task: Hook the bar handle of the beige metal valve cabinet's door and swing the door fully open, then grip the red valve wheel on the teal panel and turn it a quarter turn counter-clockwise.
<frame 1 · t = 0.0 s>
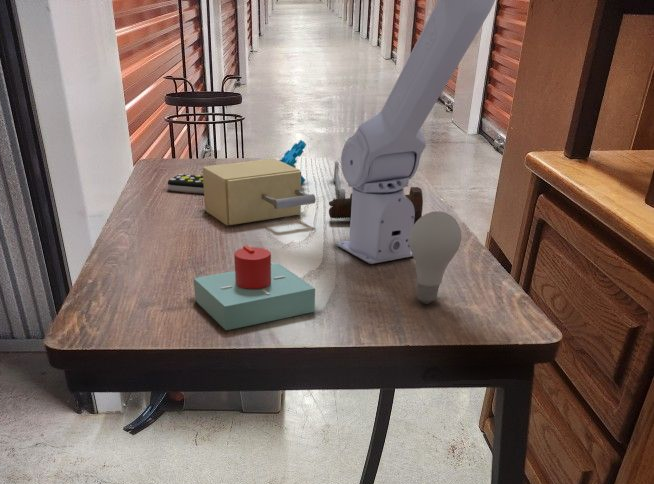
lightbulb: (425, 304, 84), on the table
cabinet: (251, 212, 115), on the table
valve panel: (253, 306, 83), on the table
cabinet door: (273, 202, 107), point 4 cm above the table, hinge at 0.0°
valve: (252, 266, 80), point 5 cm above the table, hinge at 0.0°
blue jagged angular piece: (286, 185, 130), on the table
remote control: (202, 191, 127), on the table
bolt: (373, 222, 111), on the table
combination wrench: (338, 194, 125), on the table
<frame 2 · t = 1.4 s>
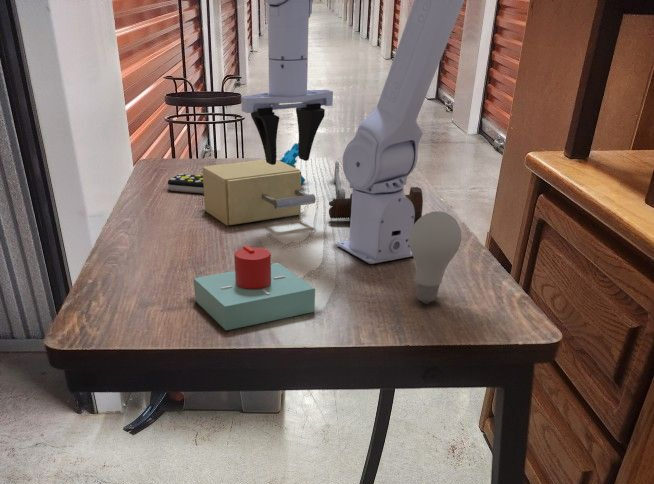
hand: (287, 161, 104), 9 cm above the table, tool pointing down, fingers open, 5 cm apart
nothing on the table moved.
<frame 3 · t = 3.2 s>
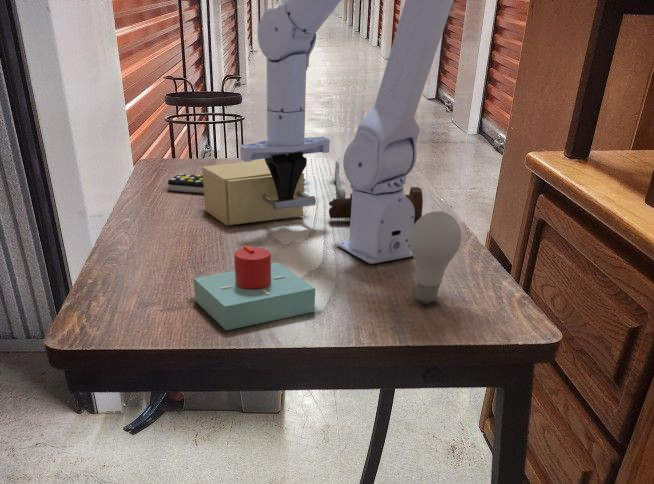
hand: (285, 205, 107), 3 cm above the table, tool pointing down, fingers closed, pressing on cabinet door
cabinet door: (273, 203, 107), point 4 cm above the table, hinge at 4.4°, touching gripper
everything else where it was.
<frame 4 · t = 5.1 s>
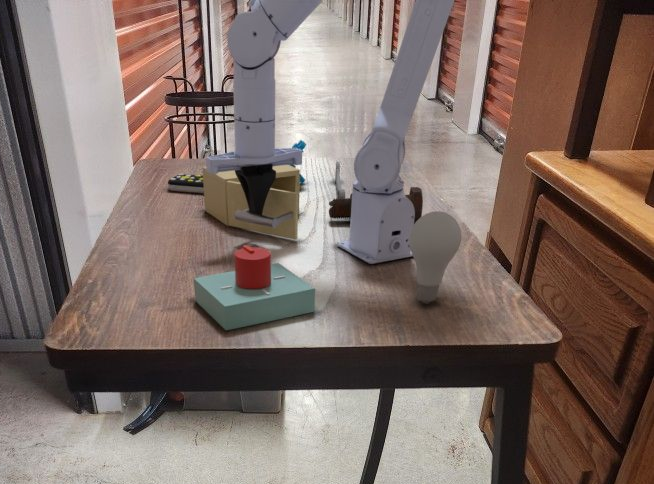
hand: (255, 219, 101), 3 cm above the table, tool pointing down, fingers closed, pressing on cabinet door
cabinet door: (251, 214, 102), point 4 cm above the table, hinge at 61.0°, touching gripper
everything else where it was.
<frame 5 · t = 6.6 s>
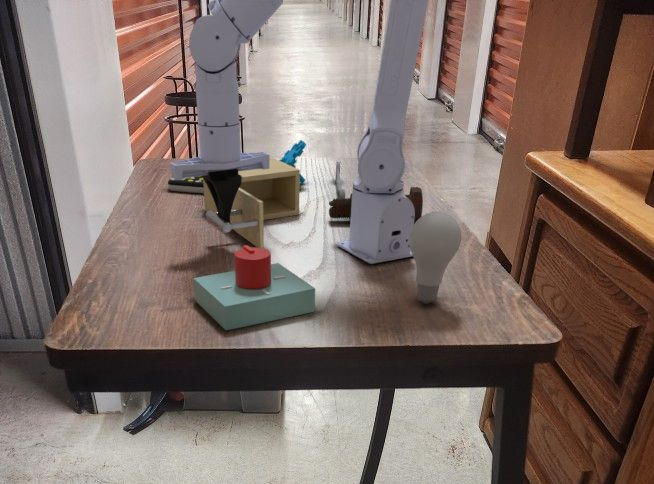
hand: (224, 225, 99), 3 cm above the table, tool pointing down, fingers closed
cabinet door: (226, 216, 101), point 4 cm above the table, hinge at 91.2°, touching gripper
everything else where it was.
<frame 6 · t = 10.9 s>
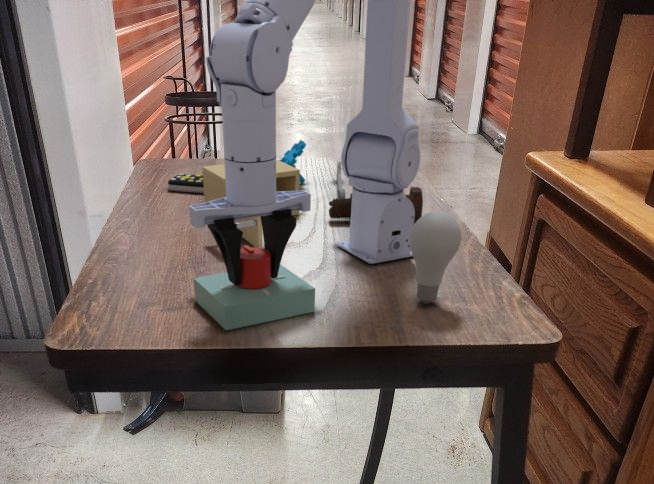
hand: (253, 278, 81), 4 cm above the table, tool pointing down, fingers closed on valve, 4 cm apart
cabinet door: (225, 216, 101), point 4 cm above the table, hinge at 92.3°
valve: (252, 266, 80), point 5 cm above the table, hinge at 0.2°, touching gripper
everything else where it was.
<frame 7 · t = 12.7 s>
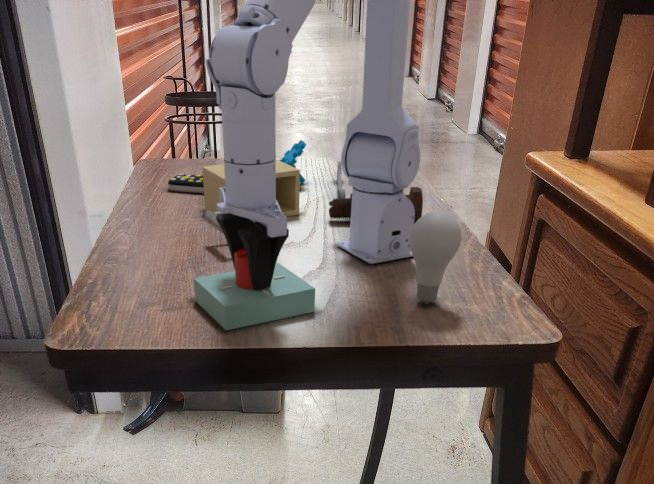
hand: (252, 280, 81), 3 cm above the table, tool pointing down, fingers closed on valve, 4 cm apart
valve: (252, 266, 80), point 5 cm above the table, hinge at 90.0°, touching gripper
everything else where it was.
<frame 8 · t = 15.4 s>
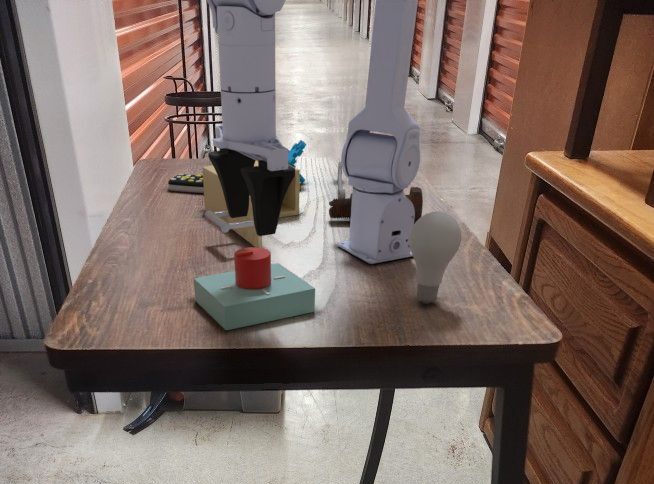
hand: (251, 225, 77), 10 cm above the table, tool pointing down, fingers open, 7 cm apart
valve: (252, 266, 80), point 5 cm above the table, hinge at 89.7°
everything else where it was.
at the end: cabinet door at +92° (first picture: +0°); valve at +90° (first picture: +0°) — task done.
